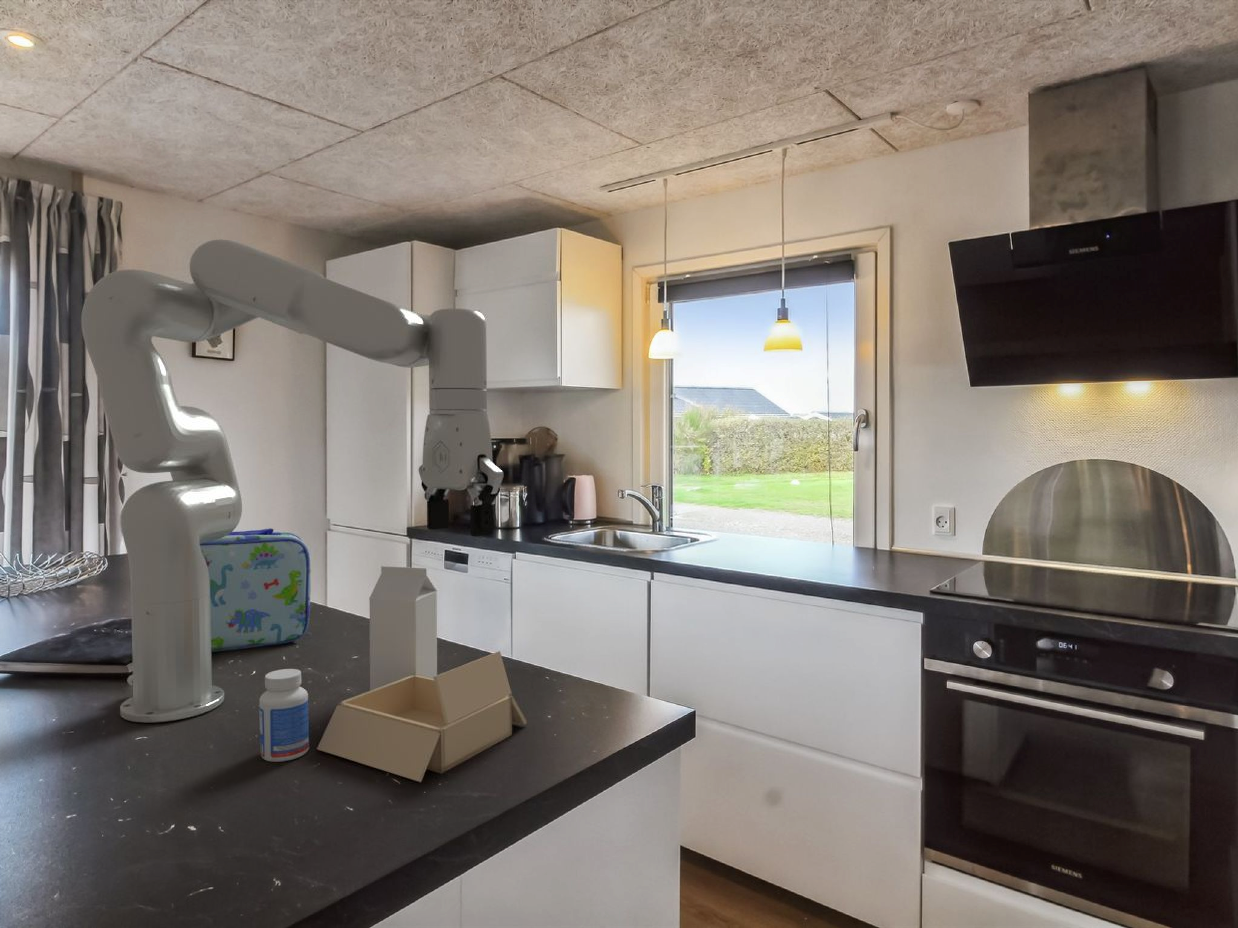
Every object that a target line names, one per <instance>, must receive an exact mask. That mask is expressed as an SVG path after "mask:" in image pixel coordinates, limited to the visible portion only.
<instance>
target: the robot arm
mask: <svg viewBox="0 0 1238 928" xmlns="http://www.w3.org/2000/svg"><path fill="white" fill-rule="evenodd" d="M189 273H190V277H191V280H192V281H193V282H192V283H190V282H185V281H184V280H183V281H182V280H179V279H176V278H172V277H170V276H167V275H163V274H159V273H156V272H153V271H147V270H142V269H121V270H115V271H112V272H110V273H108V274H106V275H105V276H103V277H101V278H100V279H98V280H97V282H96V283H95V284H94V285H93V286H92V287H91V289H90V291H88V294H87V295H86V297H85V301H84V304H83V307H82V311H81V317H80V318H81V319H80V320H81V321H80V322H81V332H82V336H83V337H82V338H83V340H84V344H85V347H86V350H87V353H88V355H89V358H90V360H91V363H92V366H93V370H94V371H95V374H96V377H97V378H96V379H97V382H98V385H99V388H100V393H101V399H102V402H103V406H104V411H105V415H106V418H107V422H108V427H109V430H110V434H111V438H112V441H113V445H114V448H115V451H116V455H117V457H118V459H119V461H120V462H121V463H122V465H124V466H125V467H126V468H127V469H129V470H131V471H133V472H135V473H141V474H158V473H159V474H161V473H170V476H171V480H165V481H164V480H163V481H157V482H154V483H150V484H148V485H145V486H142V487H141V488H139V489H137V490H135V491H134V492H133V493H132V494H131V495H130V496H129V497H128V499H126V501H125V502H124V505H123V508H122V511H121V513H120V514H121V515H120V528H121V533H122V538H123V541H124V545H125V550H126V553H127V559H128V565H129V578H130V579H129V580H130V603H131V604H130V606H131V644H132V645H131V648H132V649H131V650H132V651H131V652H132V655H131V656H132V657H131V658H132V674H131V675H129V676H128V677H127V678H126V679H127V680H126V683H128V685H130V686H132V691H133V692H132V695H133V696H131V697H129V698H127V699H125V700H124V701H123V702H122V703H121V704H120V707H119V714H120V717H121V718H123V720H126V721H129V722H135V723H142V724H143V723H145V724H146V723H148V724H149V723H165V722H173V721H178V720H179V721H180V720H183V719H187V718H191V717H196V716H199V715H201V714H204V713H207V712H210V711H212V710H214V709H216V708H217V707H219V706H220V705H221V704H223V702H224V701H225V691H224V690H223V688H221V687H219V686H217V685H214V684H212V683H213V682H212V673H213V672H212V652H211V603H210V578H209V571H208V567H207V564H206V561H205V558H204V556H203V554H202V551H201V548H200V544H201V543H206V542H210V541H213V540H217V539H220V538H223V537H225V536H227V535H228V534H230V533H231V532H234V530H235V529H236V528H237V526H238V525H239V523H240V520H241V519H242V514H243V513H242V512H243V503H242V501H243V500H242V495H241V491H240V487H239V483H238V479H237V473H236V471H235V468H234V463H233V459H232V455H231V452H230V451H231V450H230V448H229V443H228V440H227V437H226V434H225V432H224V430H223V428H222V426H221V425H220V423H219V421H218V420H216V418H215V417H214V416H213V415H211V414H210V413H209V412H207V411H205V410H203V409H201V408H198V407H194V406H186V405H180V404H179V402H178V399H177V396H176V393H175V390H174V387H173V381H172V378H171V374H170V371H169V368H168V366H167V364H166V362H165V361H164V359H163V358H162V355H161V354H160V353H159V351H157V349H156V347H155V345H154V344H153V342H152V339H153V337H156V338H161V339H167V340H172V341H179V342H181V343H182V342H183V343H185V342H186V343H198V342H204V341H207V340H210V339H213V338H215V337H218V336H219V335H222V334H225V333H226V332H229V331H231V330H234V329H236V328H238V327H240V326H243V325H245V324H247V323H249V322H252V321H254V320H257V319H258V318H260V319H262V320H264V321H265V320H266V321H268V322H271V323H272V324H276V325H279V326H280V327H284V328H286V329H289V330H290V331H293V332H296V333H298V334H301V335H307V336H310V337H313V338H314V339H317V340H320V341H322V342H325V343H328V344H330V345H332V346H334V347H338V348H340V349H342V350H345V351H348V352H351V353H354V354H357V355H359V356H362V357H364V358H367V359H370V360H373V361H375V362H378V363H382V364H383V363H384V364H389V365H393V366H397V367H401V368H412V369H413V368H419V367H421V368H422V367H427V366H428V389H429V390H428V398H429V400H428V406H429V407H428V408H429V409H428V410H429V411H428V412H429V413H428V414H427V416H426V421H425V426H424V433H423V434H424V436H423V443H422V444H423V446H422V448H423V449H422V465H420V466H419V467H418V473H419V476H420V480H421V484H420V485H421V487H422V489H423V491H424V496H423V497H424V499H425V501H426V526H427V527H426V528H427V530H440V529H441V530H442V529H447V528H449V526H450V501H449V498H446V497H447V495H448V493H449V492H450V490H452V491H463V490H465V489H466V490H467V492H468V494H469V496H470V498H471V500H472V502H473V504H471V505H470V508H469V509H470V515H469V517H470V536H472V537H482V536H489V535H492V534H493V532H494V507H493V505H495V504H496V502H497V497H498V495H499V493H500V491H501V484H502V481H503V479H504V474H505V473H504V471H503V470H501V468H500V467H498V466H497V465H495V463H494V462H493V446H492V445H493V444H492V436H491V428H490V427H491V426H490V421H489V417H488V412H487V411H488V397H487V396H488V392H487V391H488V390H487V378H488V377H487V375H488V374H487V369H488V368H487V364H488V363H487V361H488V360H487V321H486V318H485V316H484V315H483V314H482V313H481V312H480V311H478V310H477V311H476V310H474V309H466V308H440V309H436V310H434V311H433V312H432V313H431V314H430V315H429V314H421V313H417V312H414V311H412V310H409V309H407V308H405V307H402V306H401V305H397V304H395V303H393V302H391V301H390V302H389V301H387V300H384V299H381V298H379V297H376V296H373V295H370V294H367V293H366V292H362V291H359V290H358V289H354V288H352V287H349V286H346V285H343V284H341V283H338V282H336V281H333V280H330V279H328V278H326V277H325V276H324V275H323V274H322V273H320V272H318V271H315V270H313V269H310V268H308V267H305V266H302V265H300V264H296V263H294V262H291V261H288V260H286V259H283V258H280V257H278V256H275V255H272V254H269V253H267V252H264V251H262V250H259V249H256V248H253V247H252V246H248V245H245V244H243V243H240V242H237V241H234V240H228V239H212V240H209V241H207V242H204V243H202V244H201V245H199V246H198V247H197V248H195V250H194V252H193V253H192V255H191V257H190V261H189ZM479 491H481V492H479Z"/></svg>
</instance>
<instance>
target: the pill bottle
mask: <svg viewBox="0 0 1238 928" xmlns="http://www.w3.org/2000/svg"><path fill="white" fill-rule="evenodd" d="M302 681H303V680H302V672H301V670H299V669H297V668H296V669H295V668H284V669H283V668H282V669H277V670H272V671H270V672H268V673H266V674H265V675H264V686H265V687H264V688H265V689H266V691H264V692H263V693H262V694H261V696H259V700H258V703H259V704H258V707H259V708H258V710H259V714H258V716H259V743H260V744H259V746H260V747H259V748H260V749H259V750H260V752H259V753H260V756H261V758H262V759H263V760H265V761H267V762H272V763H279V762H287V761H292V760H295V759H298V758H300V757H302V756H304V755H306V753H307V752H308V751H309V749H310V732H309V731H310V730H309V729H310V728H309V727H310V726H309V693H308V691H307V690H306V689H304V688H303V687H302V686H301V684H302Z"/></svg>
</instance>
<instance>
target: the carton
mask: <svg viewBox="0 0 1238 928" xmlns="http://www.w3.org/2000/svg"><path fill="white" fill-rule="evenodd" d="M335 707H336V708H335V710H334V712H333V713H332V716H331V717H330V720H329V722H328V724H327V727H326V728H325V730H324V733H323V735H322V737H321V739H320V741H319V743H318V746H317V747H316V750H318V751H320V752H321V751H322V752H324V753H328V754H331V755H334V756H336V757H337V756H338V757H339V758H344V759H345V760H349V761H353V762H356V763H359V764H362V765H365V766H368V767H371V768H374V769H378V770H381V771H384V772H388V773H391V774H394V775H396V776H400V777H403V778H407V779H409V780H413V781H415V782H418V783H422V781H423V778H424V776H425V772H426V771H427V770H428V771H432V772H435V773H439V774H441V775H443V773H446V772H447V771H449V770H450V769H453V768H455V767H457V766H458V765H460V764H462V763H464V762H465V761H468V760H469V759H471V758H473V757H475V756H476V755H478V754H480V753H482V752H484V751H485V750H487V749H489V748H491V747H493V746H494V745H496V744H497V743H500V742H502V741H503V740H506V739H507V738H508V737H511V736H513V723H515V724H519V725H523V726H525V725H526V724H528V722H527V720H526V718H525V716H524V714H523V713H522V710H521V709H520V707H519V705H518V703H517V702H516V700H515V698H514V696H513V695H511V694H510V695H508V696H506V697H503V698H501V699H499V700H497V701H495V702H493V703H491V704H489V705H487V706H485V707H482V708H480V709H478V710H476V711H474V712H472V713H470V714H468V715H466V716H464V717H461V718H459V719H457V720H455V721H453V722H451V723H449V724H446V723H445V720H444V716H443V712H442V708H441V704H440V701H439V697H438V693H437V689H436V685H435V682H434V678H430V677H425V676H421V675H412V676H408V677H406V678H403V679H400V680H398V681H395V682H392V683H390V684H387V685H384V686H382V687H379V688H376V689H374V690H371V691H370V690H369V691H366V692H363V693H361V694H358V695H354V696H353V697H349V698H347V699H345V700H342V701H340V702H338V705H336V706H335Z"/></svg>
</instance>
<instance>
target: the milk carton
mask: <svg viewBox="0 0 1238 928" xmlns="http://www.w3.org/2000/svg"><path fill="white" fill-rule="evenodd" d="M427 569H428V568H427V567H408V566H388V565H387V566H386V565H382V566H380V570H381V571H380V575H379V577H378V579H377V582H376V584H375V585H374V587H373V590H372V591H371V594H370V596H369V598H368V599H369V691H371V690H374V689H376V688H379V687H382V686H384V685H387V684H390V683H392V682H395V681H398V680H400V679H403V678H406V677H408V676H412V675H421V676H425V677H430V678H433V677H434V676H437V675H438V617H437V616H438V605H437V604H438V599H437V598H438V596H437V595H438V594H437V593H438V592H437V591H438V590H437V589H436V587H435V586H434V584H433V583H432V581H431V580H430V579H429V577H428V573H427Z"/></svg>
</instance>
